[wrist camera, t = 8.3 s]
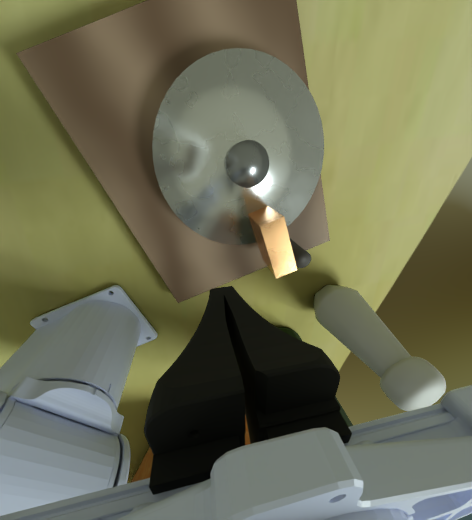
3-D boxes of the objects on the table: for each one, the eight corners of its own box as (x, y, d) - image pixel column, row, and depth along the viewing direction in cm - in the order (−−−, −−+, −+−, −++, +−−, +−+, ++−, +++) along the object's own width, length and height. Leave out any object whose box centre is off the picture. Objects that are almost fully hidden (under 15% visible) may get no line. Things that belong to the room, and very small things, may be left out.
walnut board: (178, 294, 22) (174, 336, 17) (34, 64, 13) (-74, -1, 8) (321, 235, 23) (360, 258, 17) (278, -35, 13) (335, -166, 8)
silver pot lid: (116, 97, 13) (82, 70, 9) (301, 23, 13) (348, -37, 9) (207, 276, 20) (210, 305, 16) (328, 226, 20) (362, 243, 16)
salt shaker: (315, 276, 25) (419, 376, 13) (354, 279, 26) (479, 371, 15) (301, 314, 27) (379, 426, 16) (338, 315, 29) (434, 418, 17)
